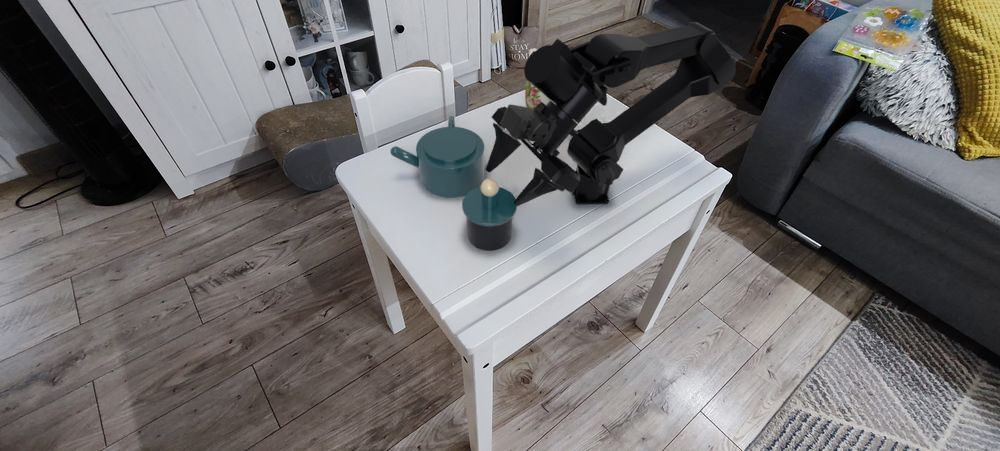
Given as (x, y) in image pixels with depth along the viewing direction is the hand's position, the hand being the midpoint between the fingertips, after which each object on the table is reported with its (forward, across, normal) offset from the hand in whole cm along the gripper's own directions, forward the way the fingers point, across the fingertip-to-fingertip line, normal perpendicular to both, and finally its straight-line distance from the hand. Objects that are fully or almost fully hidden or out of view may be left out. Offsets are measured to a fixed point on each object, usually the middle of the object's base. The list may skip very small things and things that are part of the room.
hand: (500, 187), depth 75 cm
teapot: (+9, -20, +6) cm, 23 cm away
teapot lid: (+4, 0, +1) cm, 4 cm away
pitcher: (-12, -24, +26) cm, 37 cm away
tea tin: (+9, 0, +6) cm, 11 cm away
